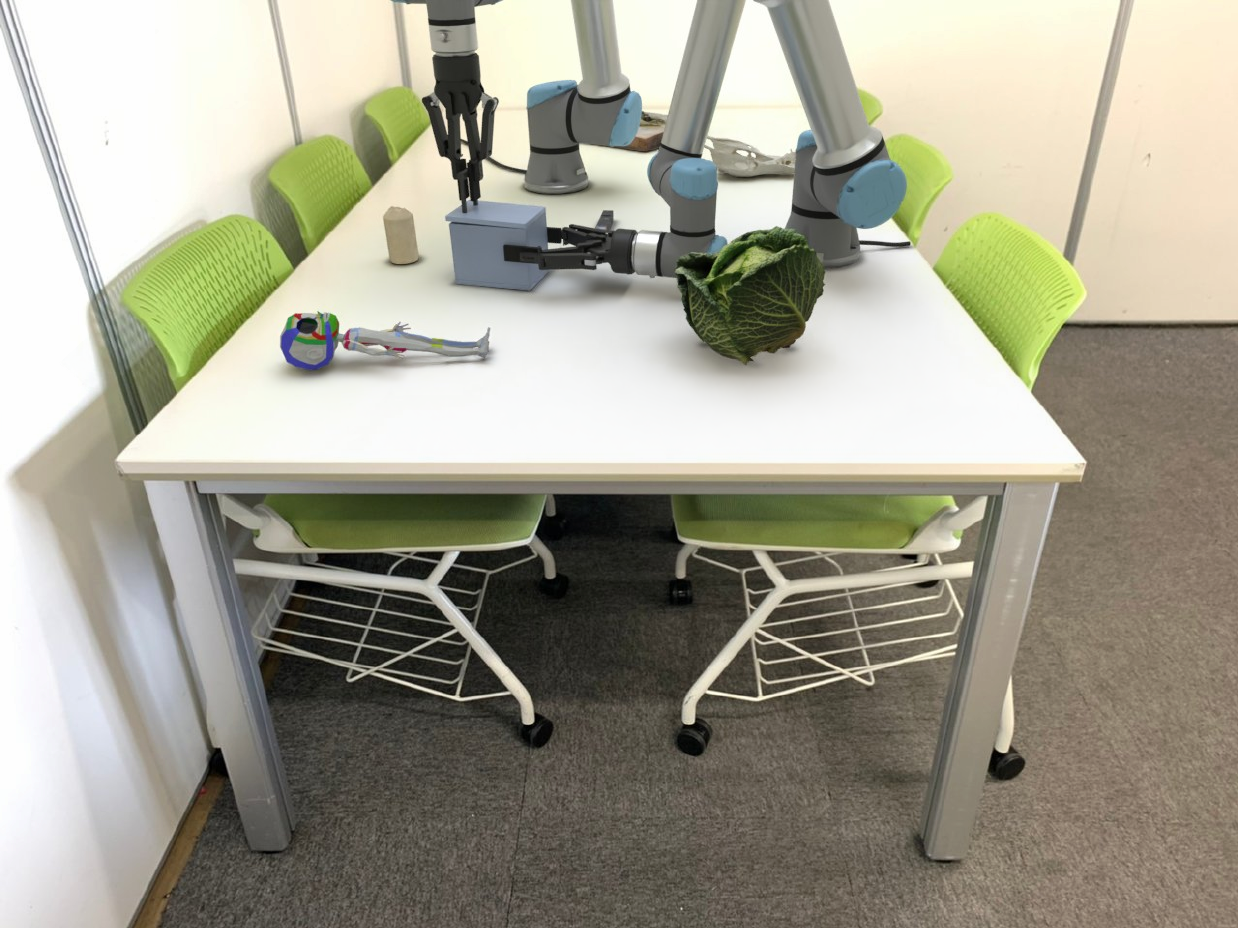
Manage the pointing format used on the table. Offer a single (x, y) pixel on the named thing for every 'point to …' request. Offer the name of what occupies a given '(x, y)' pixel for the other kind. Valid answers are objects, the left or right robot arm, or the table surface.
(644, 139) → the plaque
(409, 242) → the candle
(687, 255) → the vegetable
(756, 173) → the anatomical model
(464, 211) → the lid
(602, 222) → the pillar
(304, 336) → the toy
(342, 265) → the table surface
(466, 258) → the chest
